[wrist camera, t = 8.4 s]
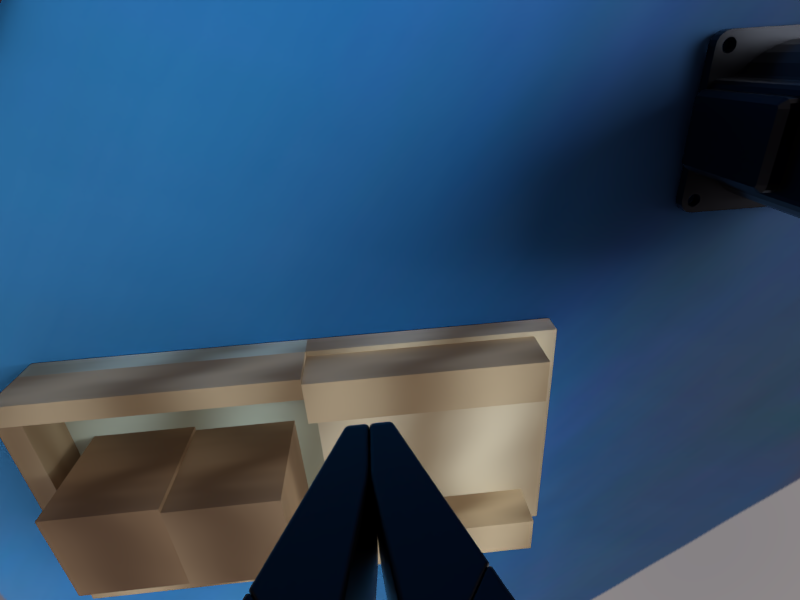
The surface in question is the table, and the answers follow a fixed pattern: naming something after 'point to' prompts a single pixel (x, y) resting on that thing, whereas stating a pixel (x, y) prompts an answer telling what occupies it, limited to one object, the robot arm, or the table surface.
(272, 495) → the brown cube
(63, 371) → the slot board
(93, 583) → the brown wooden cube
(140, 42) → the table surface
